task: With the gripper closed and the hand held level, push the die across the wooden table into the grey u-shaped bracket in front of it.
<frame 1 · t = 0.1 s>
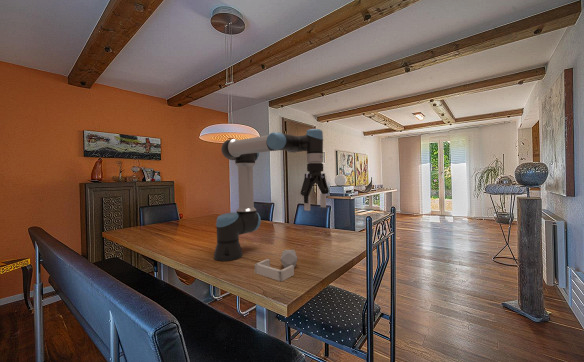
hand: (315, 208, 114), 28 cm above the table, tool pointing down, fingers open, 13 cm apart
die: (289, 267, 118), on the table
grey u-shaped bracket: (278, 271, 112), on the table
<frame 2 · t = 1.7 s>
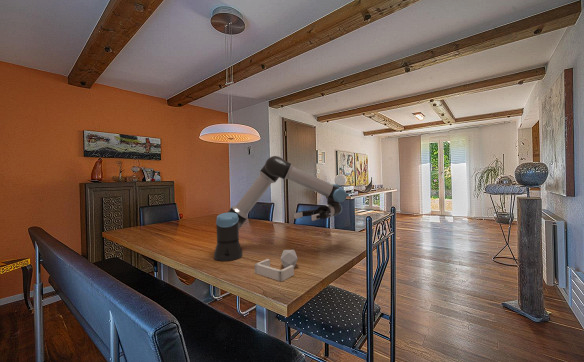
hand: (303, 217, 127), 22 cm above the table, tool horizontal, fingers open, 10 cm apart
nothing on the table moved.
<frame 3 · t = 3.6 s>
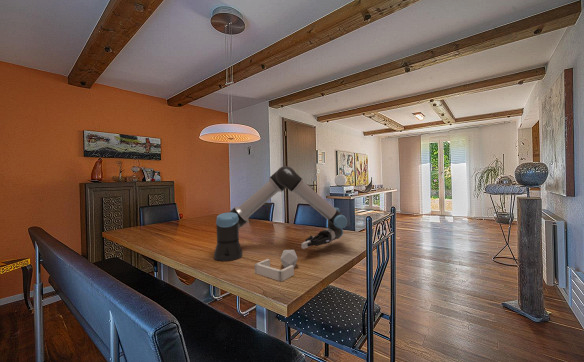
hand: (302, 246, 126), 7 cm above the table, tool horizontal, fingers closed
nothing on the table moved.
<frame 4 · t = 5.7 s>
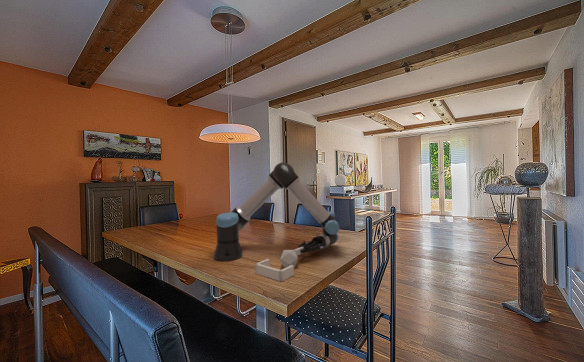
hand: (295, 252, 120), 6 cm above the table, tool horizontal, fingers closed
die: (289, 267, 118), on the table, touching gripper
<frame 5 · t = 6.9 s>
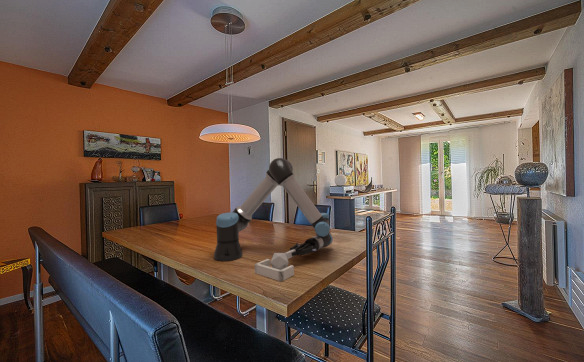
hand: (286, 255, 115), 6 cm above the table, tool horizontal, fingers closed
die: (279, 270, 113), on the table, touching gripper
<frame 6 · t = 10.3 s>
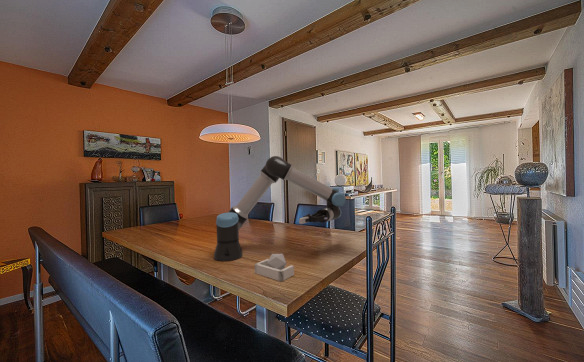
hand: (300, 221, 124), 20 cm above the table, tool horizontal, fingers closed
die: (277, 271, 112), on the table
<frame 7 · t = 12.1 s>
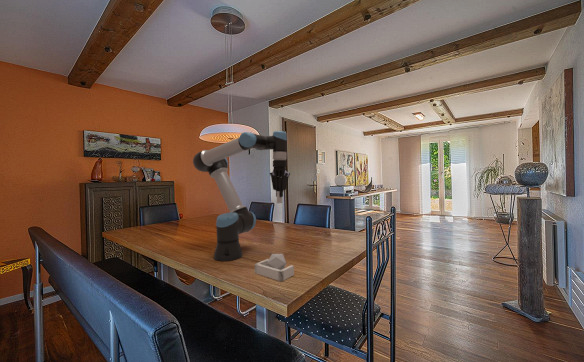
hand: (279, 202, 135), 29 cm above the table, tool pointing down, fingers closed
nothing on the table moved.
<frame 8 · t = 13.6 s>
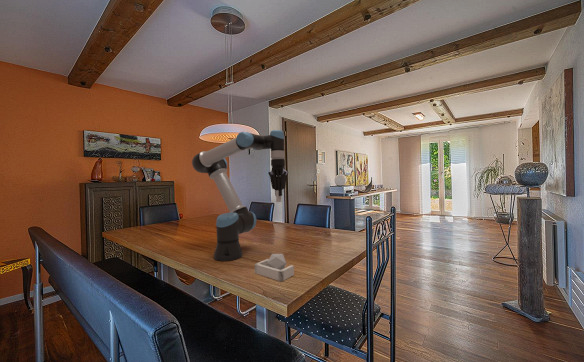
hand: (278, 201, 135), 29 cm above the table, tool pointing down, fingers closed
nothing on the table moved.
at the end: die inside the target area on the grey u-shaped bracket (1.0 cm from its centre), point 0.0 cm above the grey u-shaped bracket's base; die tilted 0° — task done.
